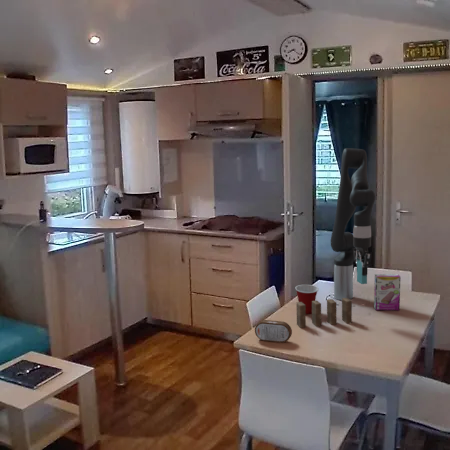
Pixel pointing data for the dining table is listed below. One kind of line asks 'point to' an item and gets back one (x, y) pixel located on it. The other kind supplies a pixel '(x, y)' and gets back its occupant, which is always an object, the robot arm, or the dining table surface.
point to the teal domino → (360, 273)
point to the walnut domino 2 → (316, 313)
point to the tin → (273, 331)
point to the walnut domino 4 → (346, 310)
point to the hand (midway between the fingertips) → (361, 273)
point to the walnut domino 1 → (301, 314)
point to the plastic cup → (307, 295)
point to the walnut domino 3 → (331, 312)
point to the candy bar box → (387, 292)
